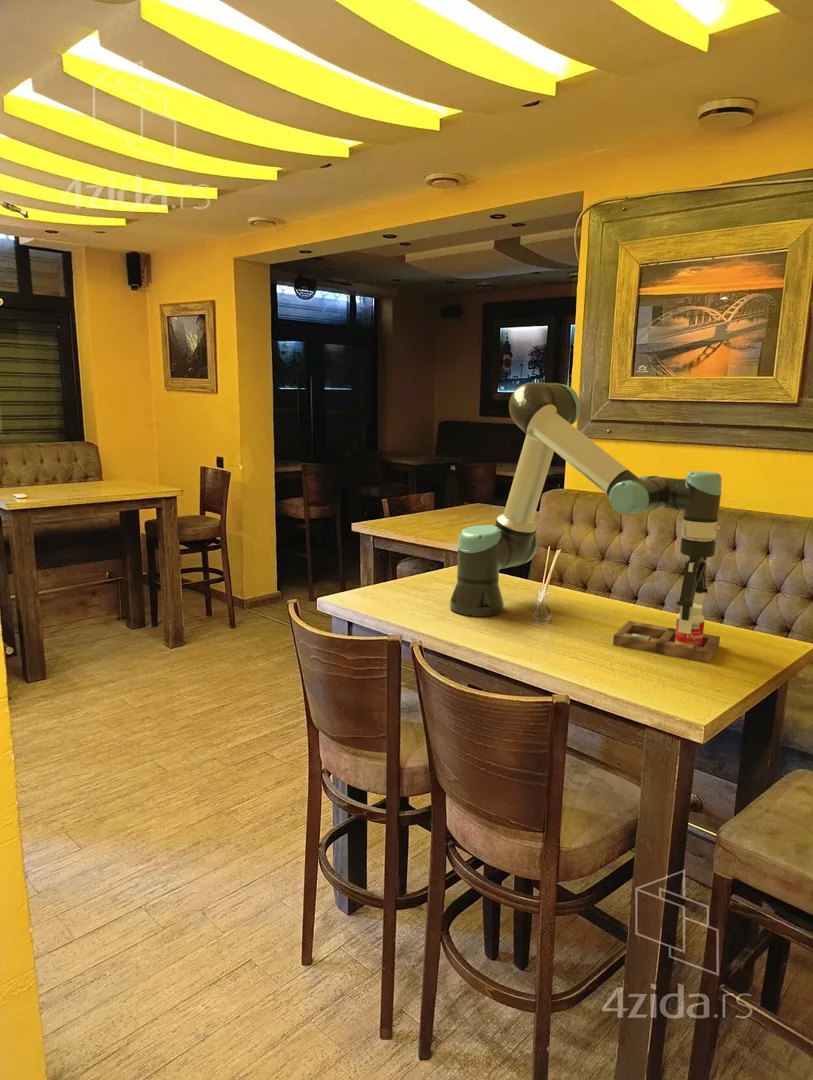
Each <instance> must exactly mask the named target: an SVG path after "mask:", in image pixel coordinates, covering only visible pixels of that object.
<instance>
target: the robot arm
mask: <svg viewBox="0 0 813 1080" xmlns="http://www.w3.org/2000/svg"><path fill="white" fill-rule="evenodd" d="M508 402H509V403H508V410H509V415H510V417H511V419H512V421H513V422H514V424H515V425H516V426H517V427H518V428H519V429H520V430H522V431H523V432H524V433H525V434H526V435H525V438H524V442H523V444H522V445H523V446H522V449H521V452H520V456H519V459H518V462H517V466H516V470H515V473H514V477H513V480H512V484H511V488H510V491H509V494H508V498H507V501H506V504H505V508H504V511H503V513H501V514H499V515H498V516H497V517H496V520H495V524H494V525H491V524H479V525H476V524H475V525H472V526H467V527H465V528H463V529H462V530H461V531H460V532H459V534H458V540H457V541H458V542H457V573H456V575H457V577H456V579H457V580H456V583H455V587H454V590H453V592H452V595H451V597H450V603H449V604H450V605H449V609H450V608H451V609H452V610H454V611H456V612H458V613H461V614H460V615H462V614H466V615H465V616H468V615H472V616H471V617H492V615H493V616H498V615H500V614H502V613H503V612H504V611H505V610H504V606H505V602H504V598H503V596H502V595H503V594H502V592H501V589H500V585H499V580H500V579H499V576H500V570H503V569H507V568H512V567H519V566H521V565H524V564H527V563H528V562H529V561H531V560H532V559H534V556H535V555H536V554H537V552H538V549H539V540H538V537H537V536H538V535H537V533H536V530H537V527H536V525H535V523H534V518H535V515H536V512H537V509H538V506H539V503H540V498H541V496H542V492H543V490H544V489H543V488H544V486H545V483H546V479H547V475H548V473H549V470H550V466H551V464H552V463H551V462H552V459H553V456H554V453H556V454H557V455H558V456H559V457H560V458H562V459H563V460H565V462H567V463H568V464H569V465H570V466H571V467H573V469H575V470H576V471H578V472H579V473H580V474H581V475H582V476H584V477H585V478H586V479H587V480H588V481H590V482H591V483H592V484H593V485H594V486H596V487H597V488H599V490H600V491H602V492H603V493H604V494H605V495H607V496H608V497H609V499H608V500H609V503H610V505H611V508H612V509H613V510H614V511H615V512H617V513H618V514H622V515H637V514H640V513H644V512H648V511H649V512H650V511H655V510H660V509H662V510H673V511H680V512H681V511H683V517H682V523H681V524H682V526H681V533H680V534H681V536H682V538H681V539H680V546H679V547H680V549H679V552H680V553H681V554H682V555H684V556H688V557H689V558H688V561H687V562H685V563H684V567H685V568H684V574H683V578H682V579H683V580H682V585H681V591H680V596H679V601H676V605H677V606H680V608H679V613H680V616H679V627H678V632H680V633H686V634H691V628H692V617H693V607H694V606H693V603H695V604H699V605H701V606H702V609H703V606H704V597H705V594H708V588H707V559H708V558H712V557H714V556H715V554H716V553H715V552H716V544H717V542H716V540H715V538H717V531H719V530H720V529H721V526H720V525H718V522H719V515H720V514H719V513H720V505H721V496H722V476H721V475H720V474H719V473H717V472H714V471H702V470H701V471H700V470H699V471H697V470H696V471H693V470H692V471H689V472H688V473H687V474H686V475H687V476H686V478H676V477H675V478H673V477H664V476H658V475H643V476H640V477H638V475H636V474H634V473H633V472H632V471H631V470H629V469H628V468H627V467H625V466H624V465H623V464H622V463H621V462H619V461H618V460H617V459H616V458H615V457H613V456H612V455H611V454H609V453H608V452H607V451H606V450H604V449H603V448H602V447H601V446H599V445H598V444H596V442H594V441H592V439H590V438H589V437H588V436H586V435H585V434H584V433H583V432H581V431H580V430H578V428H577V427H575V426H574V424H575V423H576V422H577V420H578V419H579V418H580V415H581V410H582V409H581V401H580V398H579V396H578V393H577V392H576V391H575V389H573V388H572V387H570V386H569V385H566V384H564V383H563V384H562V383H559V382H558V383H557V382H533V381H532V382H527V383H524V384H521V385H520V386H518V387H517V388H516V389H515V390H514V391H513V392H512V394H511V396H510V399H509V401H508ZM451 609H450V610H451ZM452 610H451V611H452ZM454 611H453V612H454ZM456 612H455V613H456ZM458 613H457V614H458ZM497 614H498V615H497ZM701 615H703V612H702V613H701Z"/></svg>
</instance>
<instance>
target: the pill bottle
mask: <svg viewBox="0 0 813 1080" xmlns="http://www.w3.org/2000/svg"><path fill="white" fill-rule="evenodd" d="M693 606H694V607H693V617H692V628H691V634H686V633H680V632H678V627H679V616H680V612H679V613H678V614H677V615H676V624H675V629H676V632H675V642H676V641H678V642H683V643H689V644H694V646H699V647H702V640H703V634H704V631H705V630H704V629H705V621H706V619H705V616H704V615H703V608H702V606H701V605H699V604H695V603H693ZM701 613H702V615H701Z"/></svg>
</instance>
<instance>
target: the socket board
mask: <svg viewBox="0 0 813 1080" xmlns="http://www.w3.org/2000/svg"><path fill="white" fill-rule="evenodd" d="M675 632H676V628H674V627H667V626H661V625H655V624H651V623H643V622H638V621H631V620H628V621H626V623H625V624H623V626H622V627H620V629H619V630H617V631H616V632H615V633H614V634H613V639H612V640H613V641H612V642H613V643H612V645H613V646H617V647H624V648H629V649H633V650H639V651H644V652H649V653H655V654H659V655H664V656H670V657H674V658H675V657H676V658H681V659H686V660H691V661H696V662H702V663H707V664H710V663H711V662H712V661H713V657H714V656H715V655H716V652H717V651H718V650H719V647H720V641H721V635H720V636H719V635H714V634H708V633H703V640H702V647H699V646H694V644H689V643H683V642H678V641H676V642H675Z"/></svg>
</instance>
